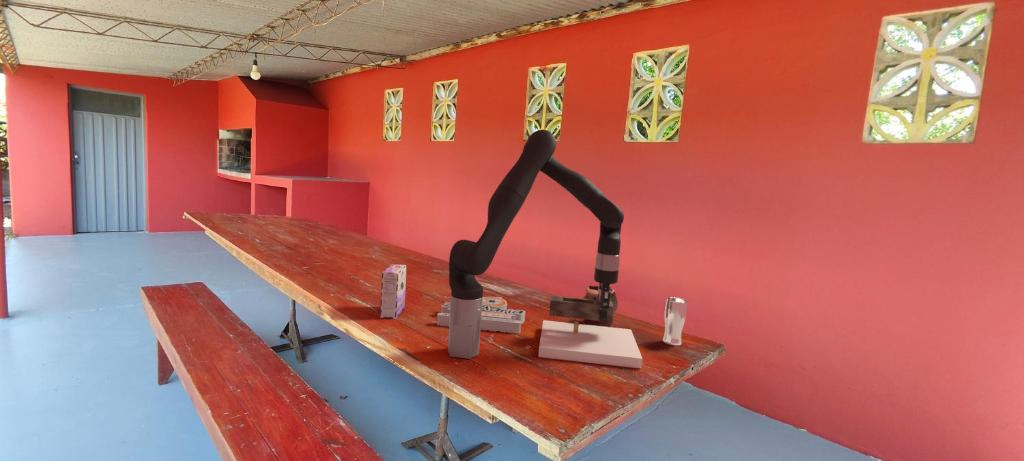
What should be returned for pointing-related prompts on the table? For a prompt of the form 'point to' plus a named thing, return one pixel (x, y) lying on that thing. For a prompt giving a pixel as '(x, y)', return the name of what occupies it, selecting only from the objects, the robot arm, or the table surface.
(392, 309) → the candy box
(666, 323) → the beer glass
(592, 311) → the frame
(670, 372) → the table surface
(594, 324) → the decorative planter
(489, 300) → the sign
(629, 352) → the wall plate
